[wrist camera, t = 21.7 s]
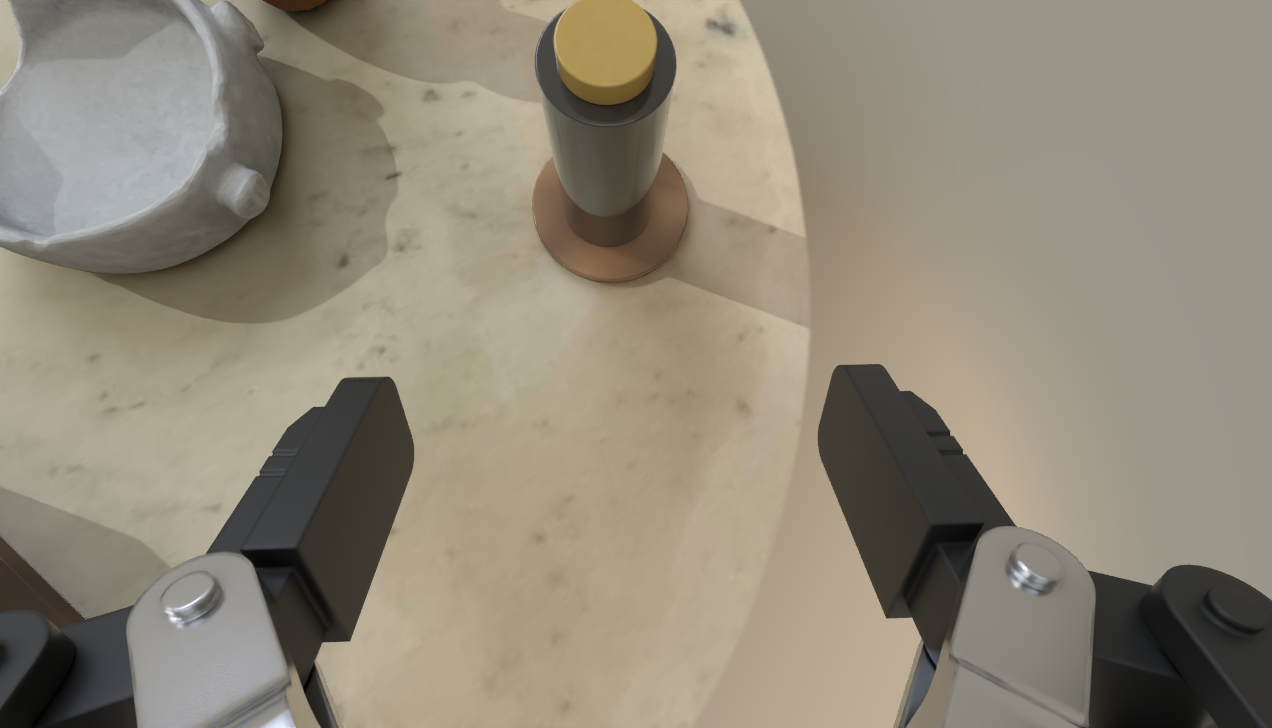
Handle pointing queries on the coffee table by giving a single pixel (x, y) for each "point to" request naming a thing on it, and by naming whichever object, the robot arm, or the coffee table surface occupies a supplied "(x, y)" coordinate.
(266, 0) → the wooden figurine
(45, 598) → the cabinet
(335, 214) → the coffee table surface
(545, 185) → the coaster
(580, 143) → the cylinder
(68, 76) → the dish
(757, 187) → the coffee table surface
